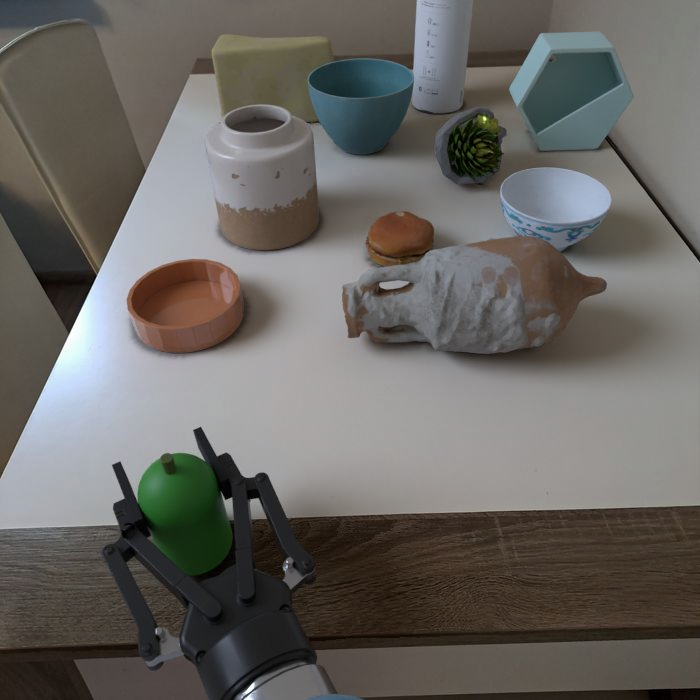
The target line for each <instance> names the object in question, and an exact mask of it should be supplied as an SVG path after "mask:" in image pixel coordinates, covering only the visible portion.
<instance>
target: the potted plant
mask: <svg viewBox="0 0 700 700" xmlns="http://www.w3.org/2000/svg"><path fill="white" fill-rule="evenodd" d="M499 124H500V123H499V119H498V118H496V117H495V114H494V112H493V111H491V110H490V109H489V107H483V106H475V107H472V108H469V109H467V110H463V111H460V112H459V113H457V114H455V115H454V116H453V117H451V118H450V119H448V120H447V121H445V123H443V125H442V126H441V128H440V129H438V130H437V132H436V133H435V139H434V145H433V149H434V152H435V153H434V155H435V159H436V161H437V164H438V166H439V169H440V171H441V174H442V176H444V177H445V178H447V179H448V180H450V181H451V182H453V183H454V184H456V185H465V184H476V185H480V186H484V185H485V184H486V183H488V182H489V181H490V180H491V179H492V178H494V177H495V176H496V175H497V174H498V172H500V170H501V168H502V161H503V155H505V153H504V152H503V150H502V145H501V144H502V143H503V139H504V138H505V137H507V136H508V133H507V129H506V128H505V127H503V126H500V125H499Z"/></svg>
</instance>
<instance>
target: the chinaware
mask: <svg viewBox="0 0 700 700" xmlns="http://www.w3.org/2000/svg"><path fill="white" fill-rule="evenodd" d="M499 192H500V194H499V196H500V206H501V209H502V214H503V216H504V218H505V221H506V222H507V224H508V226H509V227H510V229H511V230H512V232H514V233H515V234H516V235H517V237H520V236H531V237H537V238H540V239H543V240H545V241H546V242H548V243H550V244H551V245H552V246H554V247H555V248H556V249H557V250H558V251H559V252H560V253H561V252H562V251H564V250H566V249H567V248H568V247H570V246H572V245H575V244H577V243H579V242H581V241H583V240H584V239H587V238H588V237H589V236H590V235H591V234H593V233H594V232H595V231H596V230H597V229H598V228H599V226H600V225H601V224H602V223H603V221H604V219H605V218H606V217H607V215H608V213H609V212H610V209H611V207H612V203H613V197H612V194H611V192H610V190H609V189H608V188H607V187H606V186H605V185H604V184H603V183H602V182H600V181H599V180H598V179H596V178H594V177H592V176H590V175H588V174H586V173H582V172H579V171H576V170H572V169H569V168H568V169H567V168H562V167H548V166H547V167H545V166H544V167H541V166H540V167H534V168H527V169H523V170H519V171H516V172H514V173H512V174H510V175H509V176H507V178H505V179H504V180H503V182H502V183H501V185H500V188H499Z"/></svg>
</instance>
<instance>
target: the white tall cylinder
mask: <svg viewBox="0 0 700 700" xmlns="http://www.w3.org/2000/svg"><path fill="white" fill-rule="evenodd" d="M473 7H474V0H416V8H415V9H416V10H415V28H414V29H415V31H414V47H413V48H414V49H413V71H412V73H413V75H414V85H413V91H412V96H411V104H412V106H413V108H414V109H416V110H417V111H419V112H422V113H424V114H425V113H426V114H431V115H432V114H433V115H445V114H451V113H455V112H457V111H459V110H460V109H461V108H462V107H463V104H464V96H465V94H464V93H465V87H466V76H467V67H468V57H469V46H470V37H471V27H472V20H473V19H472V18H473Z"/></svg>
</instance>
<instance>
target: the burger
mask: <svg viewBox="0 0 700 700" xmlns="http://www.w3.org/2000/svg"><path fill="white" fill-rule="evenodd" d="M434 236H435V228H434V225H433V224H432V222H430V220H427V219H425V218H422V217H420V216H418V215H415V214H414V213H412V212H410V211H405V210H402V211H399V210H397V211H394V212H393V211H391V212H389V213H386V214H384V215H382V216H380V217H379V218H378V219H376V220H375V221H374V222H373V223H372V224H371V226H370V228H369V231H368V234H367V236H366V237H365V238H366V239H365V246H366V248H367V251H368V254H369V256H370V257H369V258H370V259H371V260H372V262H373V263H375V264H377V265H380V266H382V267H387V266H393V265H404V264H409V263H414V262H418V261H420V260H421V259H422V258H423V257H424V256H425V254H426V253H427V252H429V251H431V250H433V246H434V245H433V243H434V242H435V238H434Z"/></svg>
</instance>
